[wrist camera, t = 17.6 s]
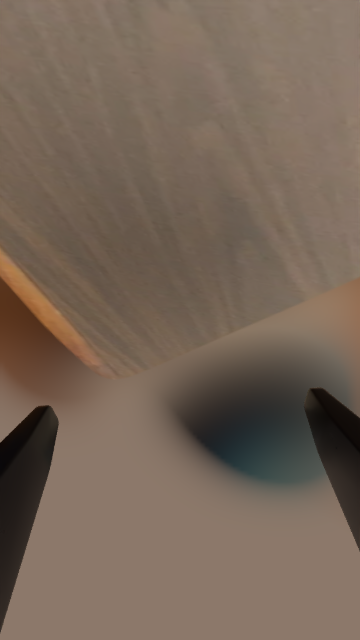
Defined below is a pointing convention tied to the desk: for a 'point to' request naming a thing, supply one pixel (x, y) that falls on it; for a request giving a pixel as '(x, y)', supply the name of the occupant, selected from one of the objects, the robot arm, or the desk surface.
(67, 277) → the desk surface
